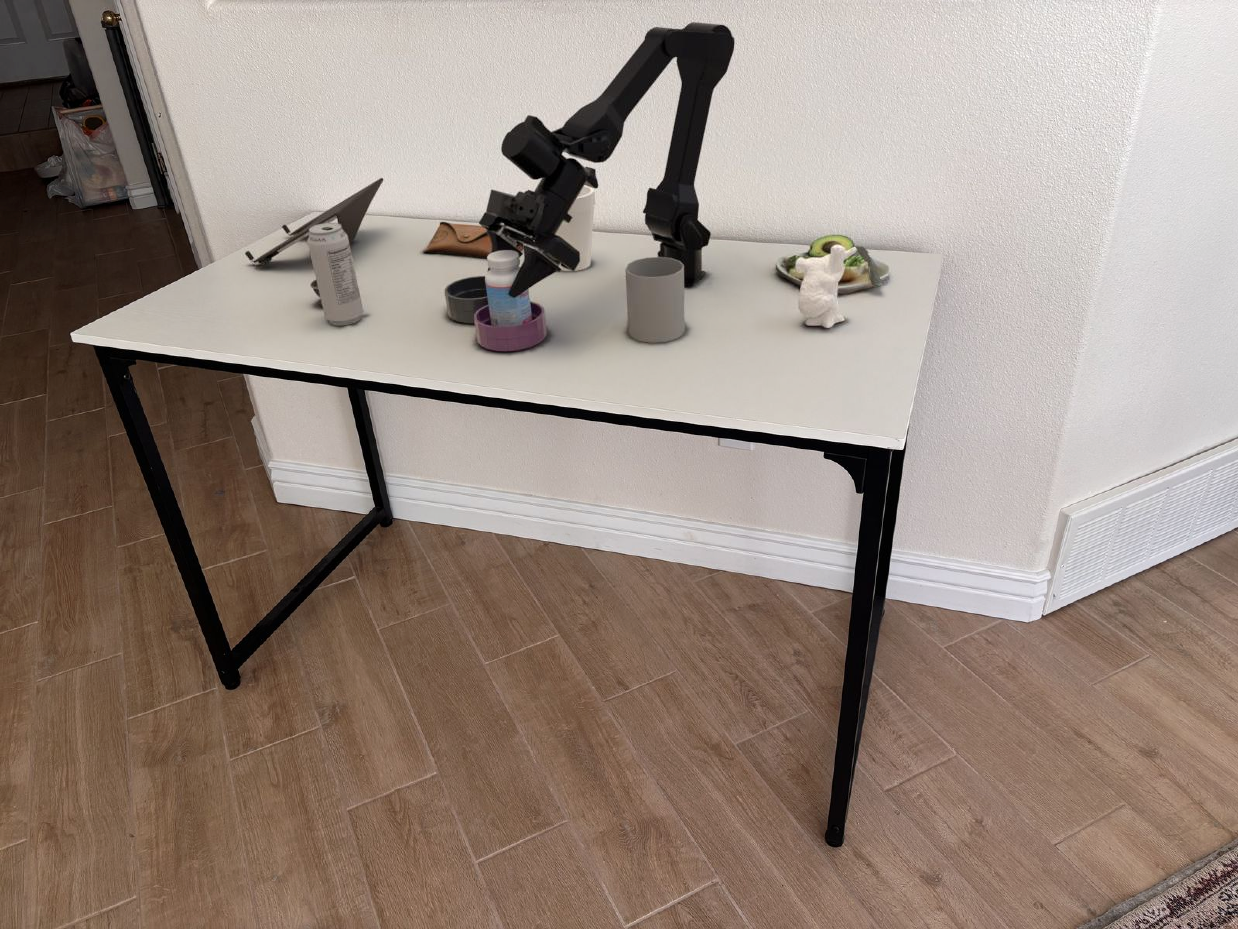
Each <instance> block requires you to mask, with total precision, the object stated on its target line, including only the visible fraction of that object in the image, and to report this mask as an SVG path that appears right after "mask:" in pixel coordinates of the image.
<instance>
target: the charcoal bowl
mask: <svg viewBox="0 0 1238 929" xmlns="http://www.w3.org/2000/svg"><path fill="white" fill-rule="evenodd" d="M485 276H486V275H477V276H468V277H464V278H461V279H457V280H455V281H452V282H451V283H449V284H447V285H446V287H445V288H444V298H445V303H446V311H447V316H448V317H449V318H450V319H451V320H453V321H456V322H459V323H462V324H475V322H474V314H475V313H476V311H477V310H479V309H480V308H482V307H484V306H486V305H489V304H488V297H487V290H486V283H485Z"/></svg>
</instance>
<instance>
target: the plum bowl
mask: <svg viewBox="0 0 1238 929" xmlns="http://www.w3.org/2000/svg"><path fill="white" fill-rule="evenodd" d="M530 305H531V314H532V321H530V322H528V323H525V324H521V325H517V326H508V327H495V326H492V325H491V318H490V311H489V305H486V306H484V307H482V308H480V309H479V310H477V311H476V313H475V314H474V322H475V323H474V328H475V335H476V336H475V337H476V342H477V343H478V345H480V347H482V348H484V349H487V350H490V351H496V352H517V351H523V350H527V349H530V348H533V347H534V346H536V345H538V344H540V343H541V342H542V341H544V340H545V338H546V337H547V334H548V332H547V323H546V322H547V321H546V312H545V308H544V307H543V306H542V304H540V303H537V302H534V301H532V300H530Z"/></svg>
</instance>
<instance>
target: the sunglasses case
mask: <svg viewBox="0 0 1238 929" xmlns="http://www.w3.org/2000/svg"><path fill="white" fill-rule="evenodd" d="M524 245H525V244H523V243H522V244H521V245H519V246H518V247H515V248H517V249H518V250H519V251H522V250H523V249H524ZM491 251H492V244H491V240H490V237H489V235H488V234H487V229H485V228H484V227H483V226H481V225H475V224H460V223H452V222H447V221H440V222H439V226H437V229H436V231H435V232H434V234H433V236H432V237H431V240H430V241H429V243H428V245H427V247H426V249H424V250H423V251H422V252H423V253H437V254H446V255H455V256H464V257H473V258H481V259H487V256H488V255H489V254H491Z"/></svg>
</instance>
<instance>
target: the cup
mask: <svg viewBox="0 0 1238 929" xmlns="http://www.w3.org/2000/svg"><path fill="white" fill-rule="evenodd" d="M624 270H625V288H626V289H625V290H626V291H625V292H626V310H627V331H628V335H629V336H630V338H631V339H634V340H636V341H639V342H643V343H650V344H656V343H657V344H658V343H666V342H671V341H675V340H677V339H679V338H680V337H681V336H683V335H684V333H685V330H686V329H685V328H686V327H685V325H686V324H685V323H686V320H685V319H686V318H685V316H686V315H685V286H684V265H683V264H682V263H681V262H680V261H678V260H675V259H672V258H664V257H658V256H653V257H652V256H651V257H644V258H639V259H635V260H633V261H631V262H629V263H627V265H626V267H625V269H624Z"/></svg>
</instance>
